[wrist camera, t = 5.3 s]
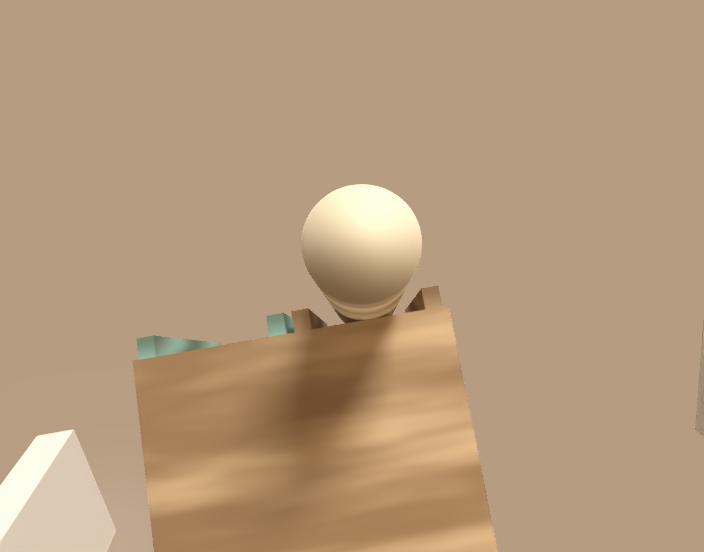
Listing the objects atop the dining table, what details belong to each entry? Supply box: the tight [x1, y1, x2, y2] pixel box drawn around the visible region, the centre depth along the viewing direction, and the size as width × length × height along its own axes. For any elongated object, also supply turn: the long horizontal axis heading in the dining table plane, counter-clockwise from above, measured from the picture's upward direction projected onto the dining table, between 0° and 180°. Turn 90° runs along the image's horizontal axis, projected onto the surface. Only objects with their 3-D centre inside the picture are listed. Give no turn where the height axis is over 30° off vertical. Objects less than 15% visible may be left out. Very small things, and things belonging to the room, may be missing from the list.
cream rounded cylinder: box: [301, 184, 422, 324], centre depth 27 cm, size 18×4×4 cm, turn 179°
